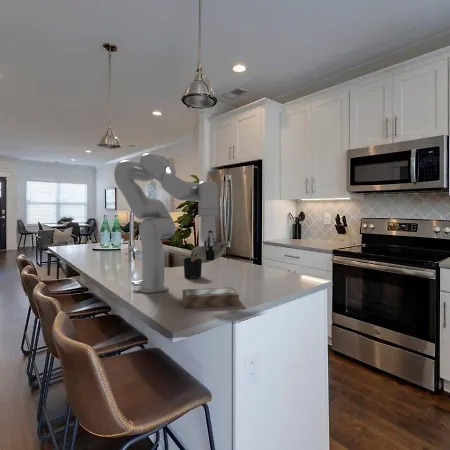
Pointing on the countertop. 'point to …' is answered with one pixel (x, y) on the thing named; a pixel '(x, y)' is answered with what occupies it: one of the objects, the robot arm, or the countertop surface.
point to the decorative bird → (201, 250)
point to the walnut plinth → (210, 297)
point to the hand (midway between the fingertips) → (208, 258)
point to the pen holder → (192, 268)
